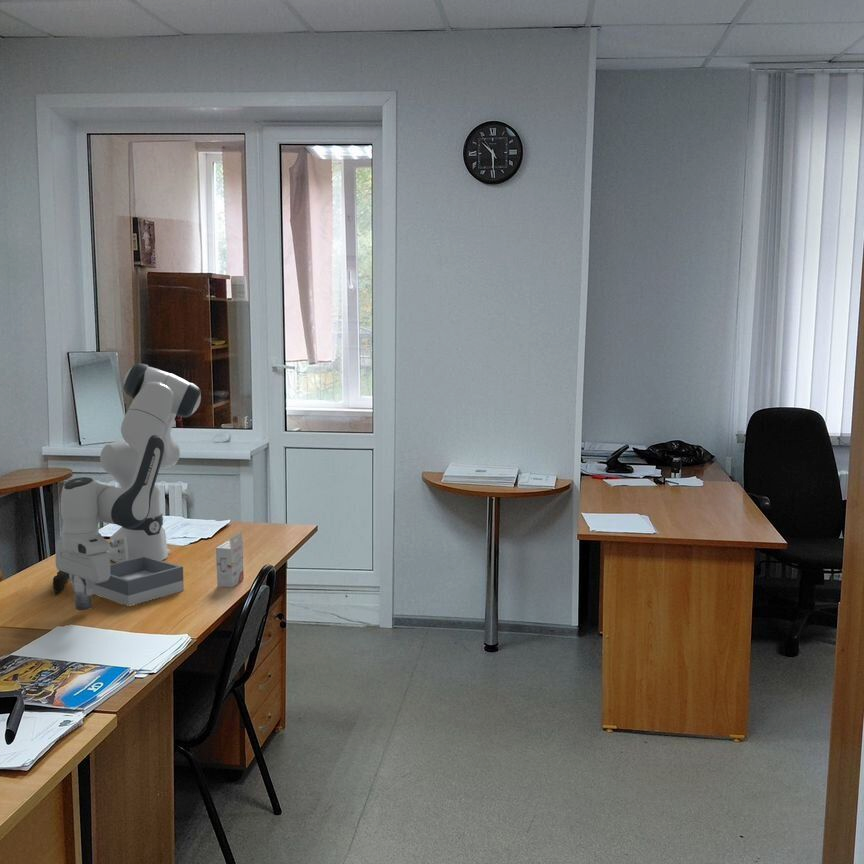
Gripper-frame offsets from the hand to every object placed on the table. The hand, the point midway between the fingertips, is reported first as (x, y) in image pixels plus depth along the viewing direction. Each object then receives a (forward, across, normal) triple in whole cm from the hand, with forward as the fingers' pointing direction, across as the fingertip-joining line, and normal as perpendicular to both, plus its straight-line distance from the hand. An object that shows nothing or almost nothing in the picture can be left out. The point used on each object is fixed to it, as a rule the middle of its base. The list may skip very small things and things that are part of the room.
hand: (83, 592), depth 236 cm
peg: (+4, 0, 0) cm, 4 cm away
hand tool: (+7, -27, +10) cm, 30 cm away
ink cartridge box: (+6, +8, +42) cm, 43 cm away
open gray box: (+6, -6, +20) cm, 22 cm away
